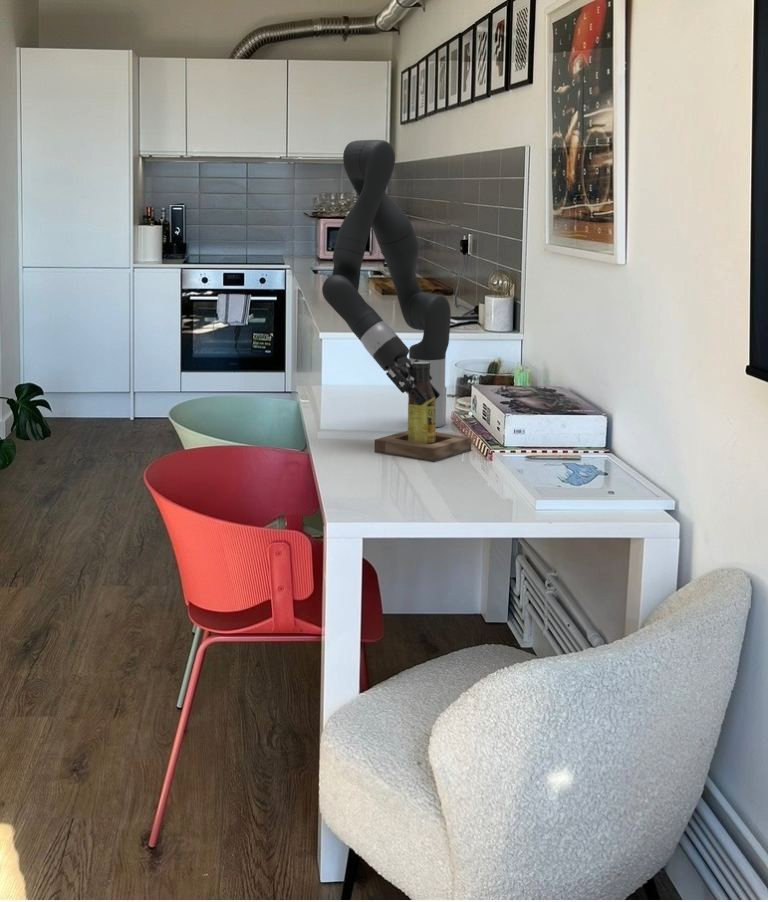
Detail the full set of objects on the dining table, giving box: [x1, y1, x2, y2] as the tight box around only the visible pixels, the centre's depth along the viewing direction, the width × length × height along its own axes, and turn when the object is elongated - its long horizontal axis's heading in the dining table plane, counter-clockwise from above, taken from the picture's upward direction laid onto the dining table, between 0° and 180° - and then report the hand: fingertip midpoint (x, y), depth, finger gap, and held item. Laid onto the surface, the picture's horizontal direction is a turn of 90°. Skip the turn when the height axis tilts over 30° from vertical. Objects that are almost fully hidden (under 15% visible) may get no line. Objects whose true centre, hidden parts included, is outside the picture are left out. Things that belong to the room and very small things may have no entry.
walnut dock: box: [373, 430, 473, 463], centre depth 277 cm, size 16×16×3 cm
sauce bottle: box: [407, 362, 437, 444], centre depth 275 cm, size 7×6×20 cm
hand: (430, 400), depth 274 cm, fingers open, 7 cm apart
